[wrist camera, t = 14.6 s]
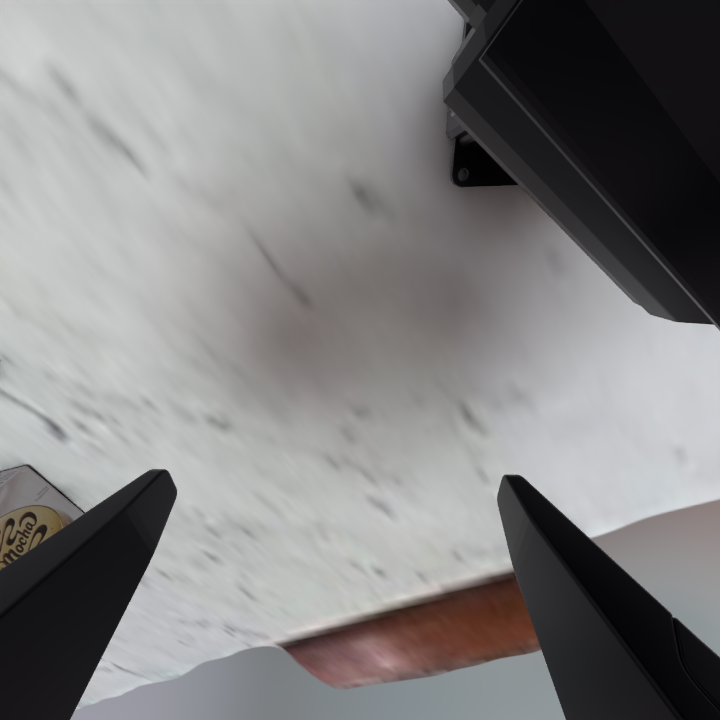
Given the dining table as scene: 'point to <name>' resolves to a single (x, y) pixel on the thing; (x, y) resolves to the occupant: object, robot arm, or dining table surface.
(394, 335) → the dining table surface
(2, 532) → the coffee box
